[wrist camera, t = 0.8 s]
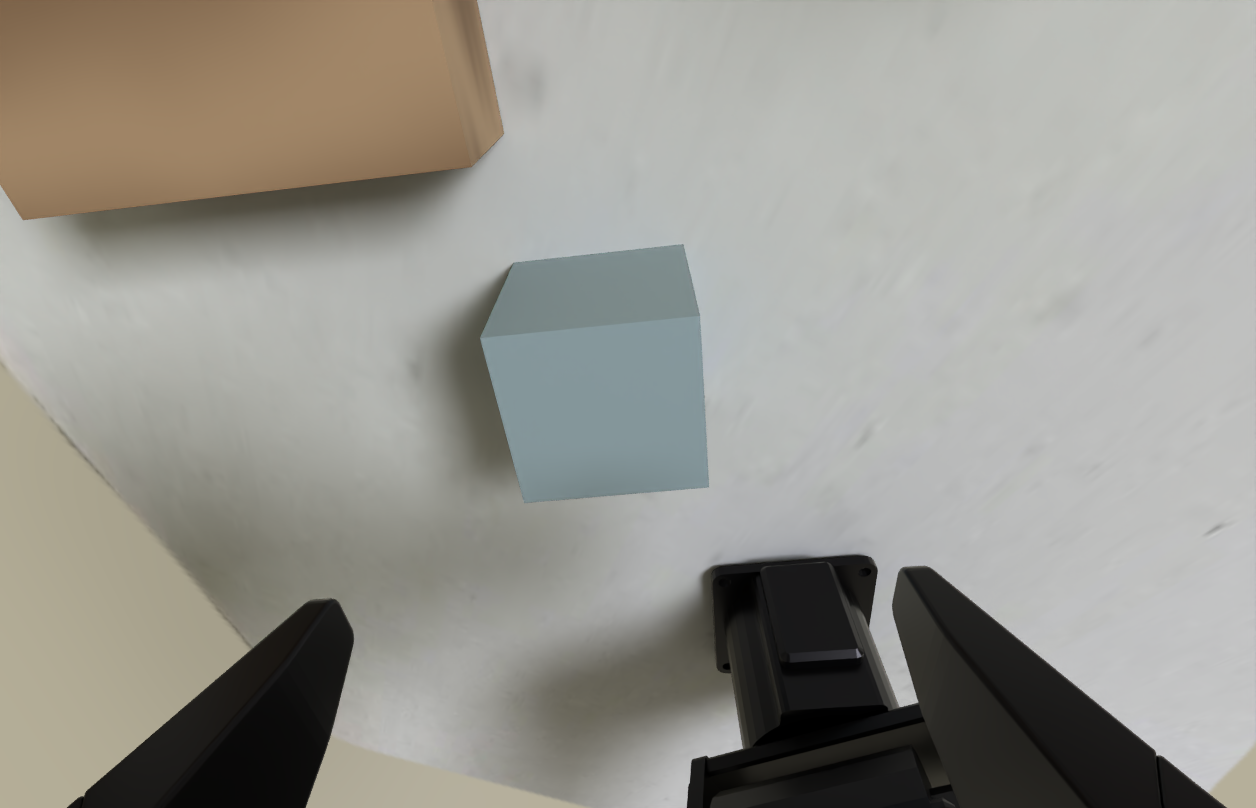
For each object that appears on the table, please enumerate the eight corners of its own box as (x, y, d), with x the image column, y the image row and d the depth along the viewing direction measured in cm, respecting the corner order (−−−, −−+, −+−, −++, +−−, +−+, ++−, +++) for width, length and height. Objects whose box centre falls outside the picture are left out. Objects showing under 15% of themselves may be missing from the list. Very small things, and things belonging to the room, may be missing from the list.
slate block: (692, 389, 21) (709, 487, 16) (545, 403, 21) (524, 502, 17) (683, 243, 18) (699, 315, 14) (514, 261, 18) (479, 338, 14)
